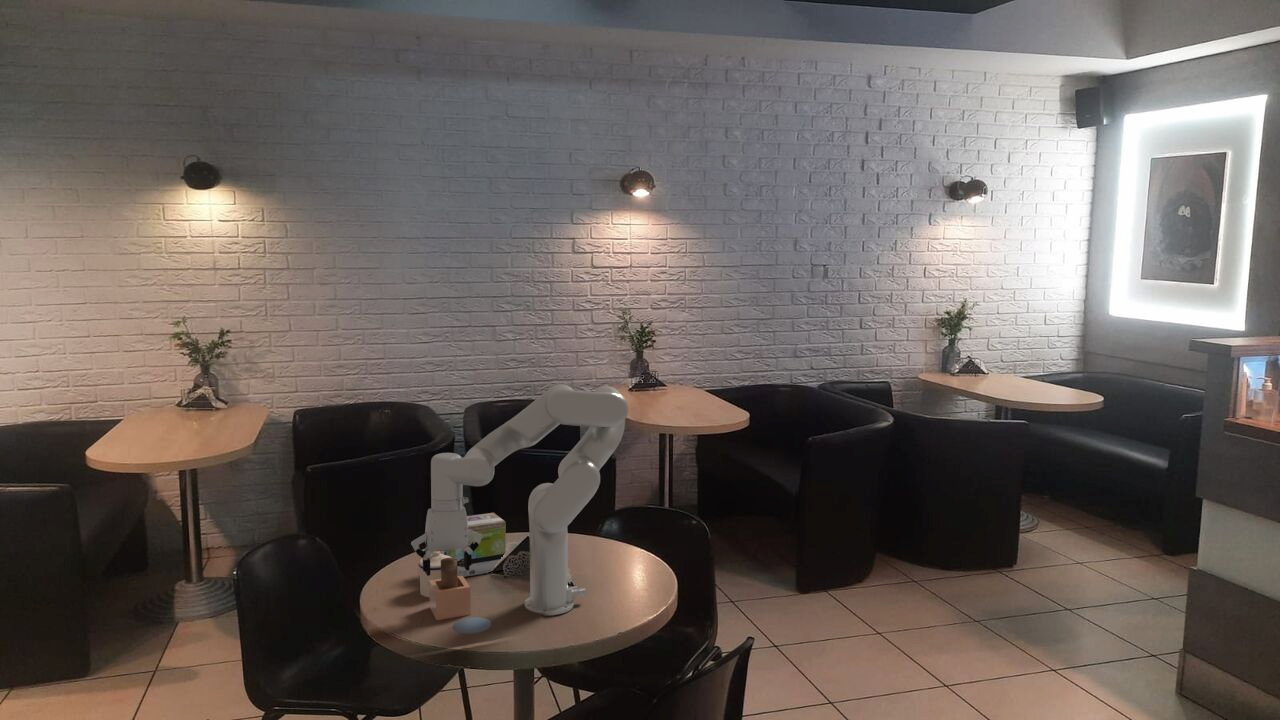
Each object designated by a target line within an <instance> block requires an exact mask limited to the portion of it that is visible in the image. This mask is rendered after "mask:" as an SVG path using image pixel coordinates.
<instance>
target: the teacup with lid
mask: <svg viewBox="0 0 1280 720" xmlns="http://www.w3.org/2000/svg"><path fill="white" fill-rule="evenodd" d="M444 558H452V557H450V556H447V555H444V554H443V553H441V551H437V552H433V553H432V554H431V555H430V557H429V559H430V575H429V576H427V574H426V573H425V572H423V558H421V559H420V560H419V562H418V567H419V590H420V591H419V592H420V593H419V594H420V595H421V596H422V597H424V598H425V597H426V598H430V595H429V580H436V579H441V560H442V559H444Z"/></svg>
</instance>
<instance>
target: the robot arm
mask: <svg viewBox="0 0 1280 720" xmlns="http://www.w3.org/2000/svg"><path fill="white" fill-rule="evenodd" d="M629 410H630V409H629V403H628V400H627V399H626V398H625V396H623V394H622V393H621V392H619V391H618V390H617V389H616V388H615V387H612V386H610V385H602V386H599V387H597V388H596V389H594V390H593V391H586V390H585V391H583V390H574V389H573V388H572V387H571V386H569V385H566V384H564V383H561V384H559V383H558V384H555V385H554V386H552V387H550V388H549V389H547V390H546V391H544V392H543V393H542V394H541V395H540V396H538V397H537V398H536V399H535V400H534V401H532V402H531V403H530V404H528V405H527V406H526V407H525V408H523V409H522V410H521V411H520V412H518V413H517V414H516V415H514V416H513V417H512V418H511V419H509V420H508V421H507V420H506V422H504V424H502V425H500V426H498V427H497V428H495V429H494V430H493V431H491V432H489V433H488V434H487V435H486V436H484V438H482V439H481V440H480V441H478V442H477V443H476V444H475V445H473V446H472V447H471V448H470V449H469V450H468V451H467V452H466V454H465V455H464V457H462V456H461V455H460V454H458V453H454V452H441V453H437V454H434V456H432V457H431V461H430V481H431V482H430V486H431V487H430V489H431V490H430V495H431V498H430V499H431V503H430V504H431V505H430V506H431V508H428V509H427V514H426V519H425V530H424V533H423V534H422V535H421V536H419V537H417V538H415V539H414V540H412V541H411V543H410V544H411V546H412V548H413V549H414V552H415V553H416V554H417V555H418V556H419V557H420V558H421V559H423V572H425V573H426V574H427V576H429V575H430V559H429V557H430V555H431V554H432V553H433V552H437V551H440V552H444V551H446V550H455V549H462V548H464V550H465V552H464V568H465V569H466V570H467V571H469V569H470V568H469V566H471V565H472V554H473V552H474V550H475V549H476V548H477V547H478V546H479V543H480V541H481V539H482V535H481V534H480V533H477V532H475V531H472V530H469V529H468V522H467V516H468V515H467V511H466V507H465V506H464V505H465V504H468V503H469V502H470V501H469V497H465V496H463V494H464V493H463V492H464V491H463V490H464V489H463V488H464V486H470V487H483V486H486V485H488V484H489V483H490V482H491V481H492V480H493V479H494V475H495V466H497V465H498V464H500V462H502V461H503V460H504V459H505V458H507V457H508V456H509V455H511V454H513V453H514V452H516V451H519V450H520V449H521V450H522V449H525V448H531V447H532V446H535V445H536V444H537V443H539V442H540V441H541V440H543V438H545V437H546V436H547V435H548V434H550V433H551V432H553V430H555V429H556V428H557V427H558V426H559V425H566V426H575V427H577V426H578V427H588V429H587V430H586V431H585V434H584V435H582V437H581V439H580V440H578V442H577V443H576V445H574V447H573V448H572V449H571V450H570V451H569V452H568V454H566V456H565V457H564V458H562V460H561V461H560V463H559V465H558V467H557V468H558V470H557V473H558V478H557V479H556V480H555V481H554V483H552V482H551V483H550V482H545V483H540V484H539V485H537V486H536V487H535V488H533V489H532V491H531V492H530V495H529V498H528V502H527V503H528V505H527V506H528V509H527V510H528V525H529V526H528V527H529V587H530V588H529V589H530V590H529V593H530V596H529V597H527V598H526V599H525V600H524V603H523V606H524V608H525V609H526V610H528V611H530V612H532V613H536V614H540V615H541V616H544V617H545V616H546V617H547V616H548V617H549V616H557V615H562V614H565V613H567V612H569V611H571V610H572V609H573V608H574V606H575V600H574V599H575V598H576V597H582V596H586V595H587V589H586V587H581V588H579V587H578V586H577V585H574V586H571V587H570V586H569V585H568V584H569V583H568V582H569V581H568V580H569V576H568V573H569V572H568V571H569V569H568V566H569V565H568V562H569V561H568V559H569V558H568V546H569V545H568V543H569V542H568V541H569V537H568V526H569V525H570V524H572V522H573V520H575V518H576V517H577V515H579V514H580V512H582V510H583V509H584V508H585V506H587V504H588V503H589V502H590V501H591V499H592V498H594V496H595V494H596V493H597V491H598V489H599V486H600V484H601V473H600V470H601V468H603V466H604V465H605V464H606V463H607V461H608V460H609V458H610V457H611V456H612V455H613V453H614V452H615V451H616V450H617V448H618V446H619V445H620V443H621V441H622V438H623V436H624V431H625V427H626V419H627V417H628V414H629ZM469 536H471V537H474V538H475V539H474V541H473V542H472V543H471V545H470V546H468V544H469ZM422 543H425V546H426V547H425V548H424V549H423V550H422V549H421V548H420V545H421V544H422Z"/></svg>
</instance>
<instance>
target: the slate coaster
mask: <svg viewBox="0 0 1280 720" xmlns="http://www.w3.org/2000/svg"><path fill="white" fill-rule="evenodd" d="M491 626H492V622H491V620H489V619H487V618H484V617H476V616H475V617H474V616H473V617H466V618H462V619H459V620H458V621H456V622H454V623H453V625H452V629H453V631H456V632H457V633H460V634H478V633H482V632H484V631H486V630H488V629H490V628H491Z"/></svg>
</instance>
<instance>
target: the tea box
mask: <svg viewBox="0 0 1280 720" xmlns="http://www.w3.org/2000/svg"><path fill="white" fill-rule="evenodd" d="M467 522H468V529H469V530H472V531H475V532H477V533H480V534H481V535H482V539H481V541H480V543H479V546H478V547H477V548H476V549H475V550H474V552H473V554H472V565H471V566H469V568H470V569H469V571H467V570H466V569H465V568H464V552H465V550H464V548H462V549H455V550H446V551H443V553H444V554H443V555H447V556H450V557H452V558H456V559H457V573H458V576H463V577H464V578H466V577H471V576H477V575H484V573H485V574H489V573H488V572H490V571H491V570H492V569H493V568H494V567H495V565H496V564H497V563H498V561H499V560H500V559H501V557H503V555H504V554H505V553H506V535H507V534H506V533H507V532H506V530H507V529H506V526H507V525H506V521H505V520H504V519H502V518H501V517H500V516H499V515H497V514H496V513H495V512H490V513H488V512H487V513H482V514H474V515H467ZM474 539H475V538H474V537H471V536H469V544H468V546H470V545H471V543H472V542H473V541H474Z"/></svg>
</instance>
